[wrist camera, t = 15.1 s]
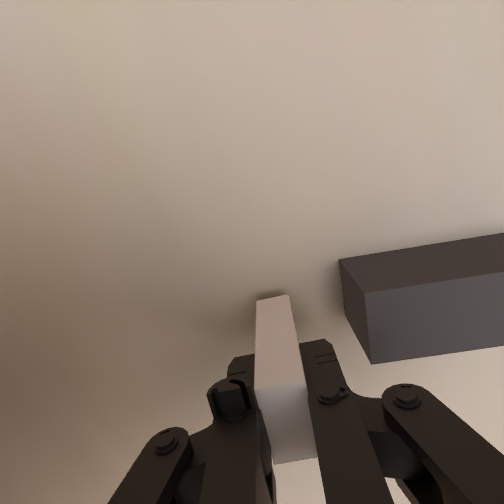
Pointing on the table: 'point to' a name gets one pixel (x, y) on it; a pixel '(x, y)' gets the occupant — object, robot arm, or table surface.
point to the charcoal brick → (426, 299)
